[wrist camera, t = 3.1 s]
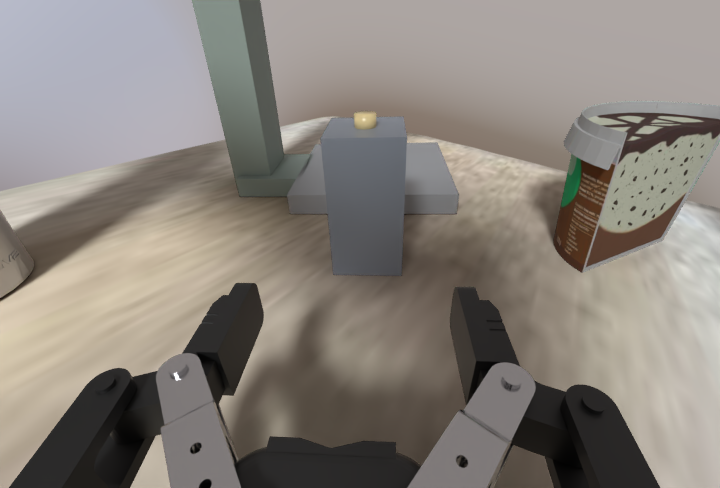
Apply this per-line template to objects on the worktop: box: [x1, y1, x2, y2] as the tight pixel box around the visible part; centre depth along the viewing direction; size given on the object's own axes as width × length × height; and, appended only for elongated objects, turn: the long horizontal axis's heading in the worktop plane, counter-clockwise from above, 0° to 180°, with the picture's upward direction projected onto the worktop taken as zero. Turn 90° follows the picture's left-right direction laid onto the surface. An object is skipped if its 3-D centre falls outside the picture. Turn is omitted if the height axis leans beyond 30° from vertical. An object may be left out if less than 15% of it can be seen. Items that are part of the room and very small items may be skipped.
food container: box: [554, 101, 720, 273], centre depth 26 cm, size 12×6×10 cm, turn 115°
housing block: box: [320, 111, 407, 276], centre depth 25 cm, size 5×5×11 cm
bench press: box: [192, 0, 459, 214], centre depth 34 cm, size 23×16×25 cm
